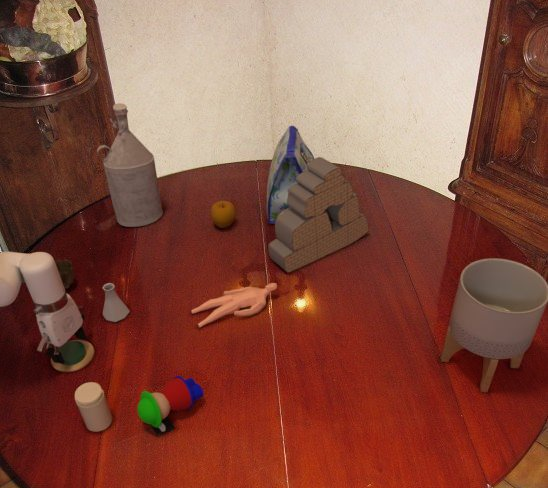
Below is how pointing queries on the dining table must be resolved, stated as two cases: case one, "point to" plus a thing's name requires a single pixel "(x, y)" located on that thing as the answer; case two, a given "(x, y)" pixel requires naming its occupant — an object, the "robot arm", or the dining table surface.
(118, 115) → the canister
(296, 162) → the lunch bag
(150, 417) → the toy figure
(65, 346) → the jar lid
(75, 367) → the coaster
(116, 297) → the flask
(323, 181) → the ruin
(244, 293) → the male figurine
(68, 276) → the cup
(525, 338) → the planter
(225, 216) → the apple
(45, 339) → the robot arm
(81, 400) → the beige cylinder
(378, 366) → the dining table surface
